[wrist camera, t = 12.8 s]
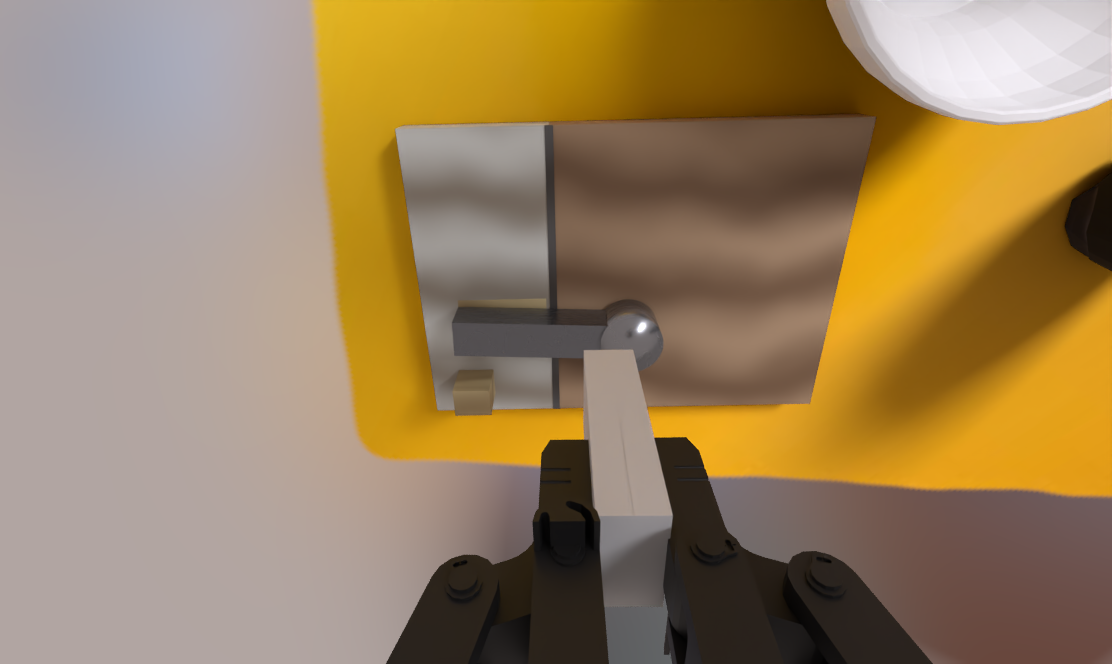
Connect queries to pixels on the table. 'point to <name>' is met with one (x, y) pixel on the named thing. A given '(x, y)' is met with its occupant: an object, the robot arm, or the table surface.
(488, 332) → the door lever handle
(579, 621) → the robot arm
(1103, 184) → the portable speaker
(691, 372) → the board
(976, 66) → the bowl
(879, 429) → the table surface
